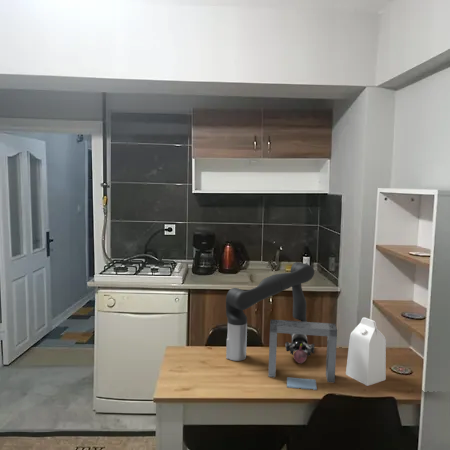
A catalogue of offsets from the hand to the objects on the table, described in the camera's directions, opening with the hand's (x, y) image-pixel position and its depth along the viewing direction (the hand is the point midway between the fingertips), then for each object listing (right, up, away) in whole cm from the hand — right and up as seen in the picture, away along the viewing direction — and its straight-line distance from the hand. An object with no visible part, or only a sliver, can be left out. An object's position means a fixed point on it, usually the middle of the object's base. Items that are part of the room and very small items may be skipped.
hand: (300, 353), depth 194 cm
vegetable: (0, -6, +3) cm, 7 cm away
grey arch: (-2, -7, -9) cm, 11 cm away
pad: (-3, -8, -17) cm, 19 cm away
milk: (+27, -8, -9) cm, 29 cm away
